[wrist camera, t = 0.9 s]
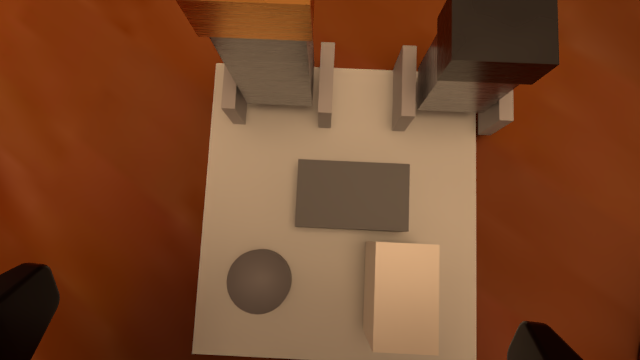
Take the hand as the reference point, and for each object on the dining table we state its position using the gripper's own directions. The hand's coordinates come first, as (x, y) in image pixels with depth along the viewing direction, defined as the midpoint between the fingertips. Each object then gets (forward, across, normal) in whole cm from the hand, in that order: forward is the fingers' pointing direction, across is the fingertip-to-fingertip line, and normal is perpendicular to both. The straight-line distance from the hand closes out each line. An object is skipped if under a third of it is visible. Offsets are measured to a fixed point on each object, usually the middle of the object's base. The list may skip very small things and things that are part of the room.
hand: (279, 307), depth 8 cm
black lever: (+14, -6, 0) cm, 15 cm away
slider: (+9, -4, +8) cm, 13 cm away
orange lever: (+13, +2, 0) cm, 14 cm away
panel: (+12, -1, +6) cm, 13 cm away
